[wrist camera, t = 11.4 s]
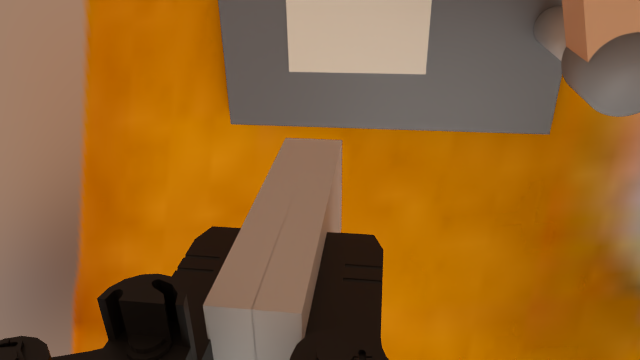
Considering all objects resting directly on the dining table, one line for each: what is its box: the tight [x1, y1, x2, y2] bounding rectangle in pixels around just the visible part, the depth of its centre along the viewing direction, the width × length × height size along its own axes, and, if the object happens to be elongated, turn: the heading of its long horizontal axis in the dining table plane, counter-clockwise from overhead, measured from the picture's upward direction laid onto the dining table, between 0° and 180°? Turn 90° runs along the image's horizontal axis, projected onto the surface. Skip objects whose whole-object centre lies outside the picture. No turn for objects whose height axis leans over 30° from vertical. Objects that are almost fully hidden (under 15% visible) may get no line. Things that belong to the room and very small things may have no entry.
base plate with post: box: [218, 0, 566, 134], centre depth 29 cm, size 22×14×9 cm, turn 91°
